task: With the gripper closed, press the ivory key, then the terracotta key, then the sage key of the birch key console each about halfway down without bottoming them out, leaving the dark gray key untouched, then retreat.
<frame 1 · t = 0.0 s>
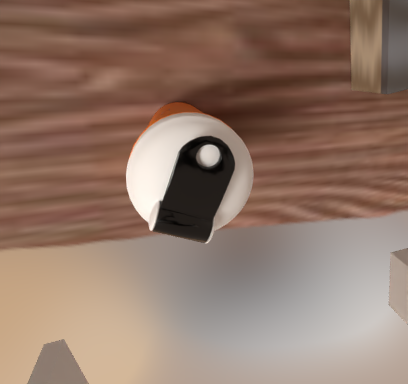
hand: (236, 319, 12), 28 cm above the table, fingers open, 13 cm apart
shaker bottle: (178, 131, 37), on the table
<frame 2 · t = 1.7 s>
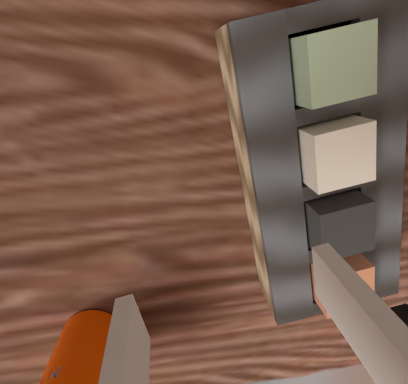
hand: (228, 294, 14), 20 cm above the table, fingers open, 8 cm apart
key sage: (329, 65, 23), point 7 cm above the table, slide at 0.0 cm
key terracotta: (339, 280, 32), point 7 cm above the table, slide at 0.0 cm
console: (302, 166, 34), on the table
shaker bottle: (93, 329, 39), on the table
key ivory: (333, 152, 26), point 7 cm above the table, slide at 0.0 cm
key dark gray: (336, 222, 29), point 7 cm above the table, slide at 0.0 cm
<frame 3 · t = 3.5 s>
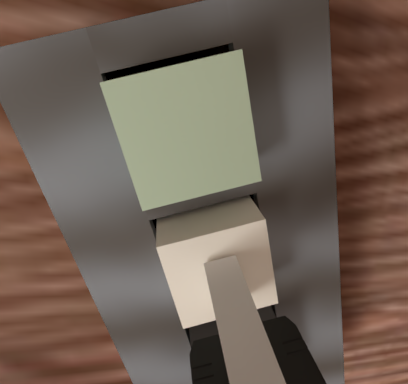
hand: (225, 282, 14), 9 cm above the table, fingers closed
key sage: (184, 126, 13), point 7 cm above the table, slide at 0.0 cm
console: (209, 241, 24), on the table
key ivory: (214, 253, 16), point 7 cm above the table, slide at 0.3 cm, touching gripper
key dark gray: (237, 348, 19), point 7 cm above the table, slide at 0.0 cm
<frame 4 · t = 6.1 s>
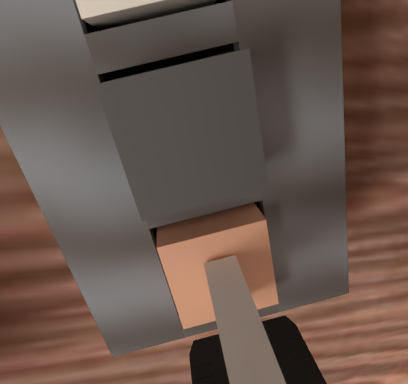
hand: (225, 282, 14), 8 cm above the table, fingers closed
key terracotta: (215, 254, 16), point 6 cm above the table, slide at 1.2 cm, touching gripper
console: (162, 47, 17), on the table
key dark gray: (186, 131, 12), point 7 cm above the table, slide at 0.0 cm
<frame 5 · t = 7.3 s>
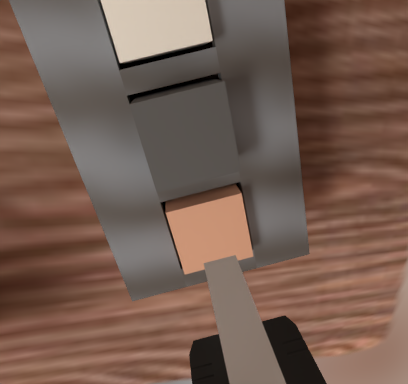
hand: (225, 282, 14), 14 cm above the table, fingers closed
key terracotta: (207, 221, 22), point 6 cm above the table, slide at 1.3 cm
console: (168, 70, 23), on the table
key ivory: (154, 4, 17), point 6 cm above the table, slide at 1.3 cm
key dark gray: (186, 132, 18), point 7 cm above the table, slide at 0.0 cm
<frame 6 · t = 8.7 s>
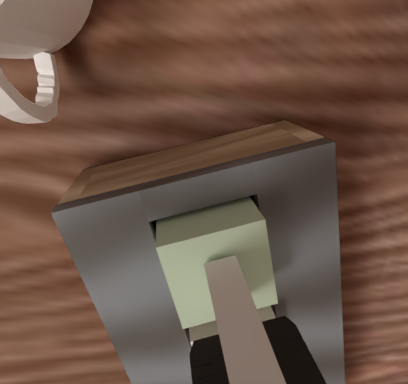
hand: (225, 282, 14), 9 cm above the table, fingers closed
key sage: (214, 253, 16), point 7 cm above the table, slide at 0.5 cm, touching gripper
console: (225, 309, 27), on the table
key ivory: (233, 333, 20), point 6 cm above the table, slide at 1.3 cm
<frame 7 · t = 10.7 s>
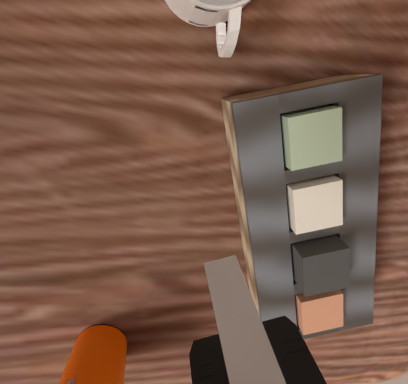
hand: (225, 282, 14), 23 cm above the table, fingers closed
key sage: (306, 136, 30), point 6 cm above the table, slide at 1.3 cm
key terracotta: (315, 303, 38), point 6 cm above the table, slide at 1.3 cm
console: (292, 208, 39), on the table
shaker bottle: (102, 342, 44), on the table
key ivory: (310, 200, 33), point 6 cm above the table, slide at 1.3 cm
key dark gray: (318, 262, 34), point 7 cm above the table, slide at 0.0 cm
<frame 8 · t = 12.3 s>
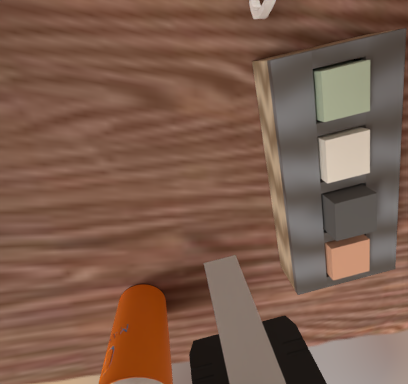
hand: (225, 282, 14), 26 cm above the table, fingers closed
key sage: (336, 90, 33), point 6 cm above the table, slide at 1.3 cm
key terracotta: (342, 251, 41), point 6 cm above the table, slide at 1.3 cm
console: (317, 166, 42), on the table
shaker bottle: (142, 301, 47), on the table
key ivory: (338, 152, 35), point 6 cm above the table, slide at 1.3 cm
key dark gray: (346, 210, 37), point 7 cm above the table, slide at 0.0 cm
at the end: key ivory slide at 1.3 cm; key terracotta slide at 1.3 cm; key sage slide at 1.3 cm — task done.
